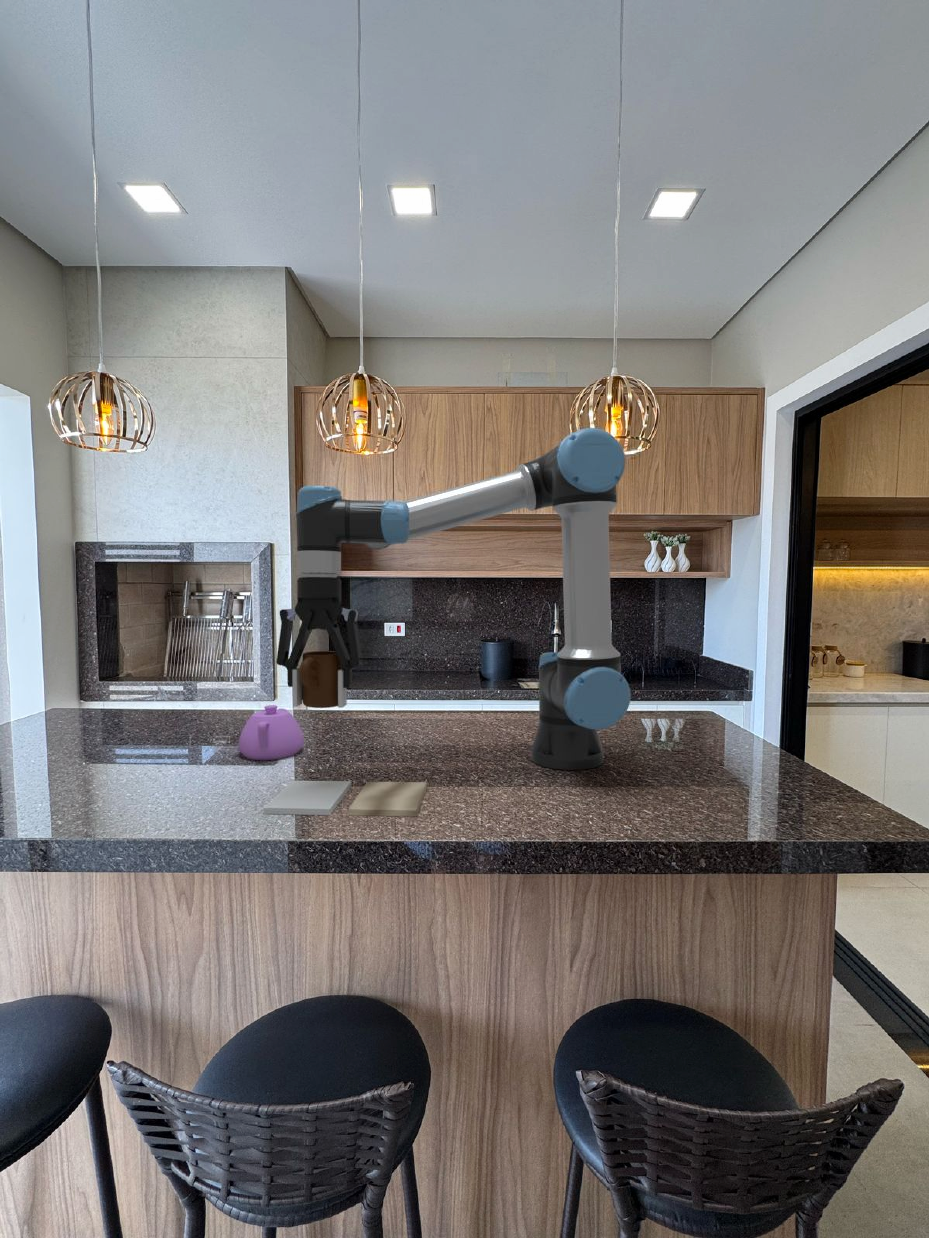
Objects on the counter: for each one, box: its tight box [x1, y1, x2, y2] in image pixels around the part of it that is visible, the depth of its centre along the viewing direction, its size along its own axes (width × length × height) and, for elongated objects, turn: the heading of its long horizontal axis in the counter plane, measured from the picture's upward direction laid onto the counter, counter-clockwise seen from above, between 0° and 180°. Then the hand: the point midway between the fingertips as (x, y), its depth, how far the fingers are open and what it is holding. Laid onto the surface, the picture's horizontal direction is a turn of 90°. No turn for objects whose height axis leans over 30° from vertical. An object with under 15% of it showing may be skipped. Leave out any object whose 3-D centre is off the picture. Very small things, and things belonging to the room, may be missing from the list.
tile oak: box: [347, 781, 428, 817], centre depth 105 cm, size 11×14×1 cm
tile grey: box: [262, 780, 352, 816], centre depth 106 cm, size 11×14×1 cm
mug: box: [299, 650, 342, 709], centre depth 108 cm, size 12×8×9 cm, turn 168°
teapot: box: [238, 704, 305, 761], centre depth 136 cm, size 14×20×11 cm
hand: (319, 705), depth 108 cm, fingers closed on mug, 7 cm apart
